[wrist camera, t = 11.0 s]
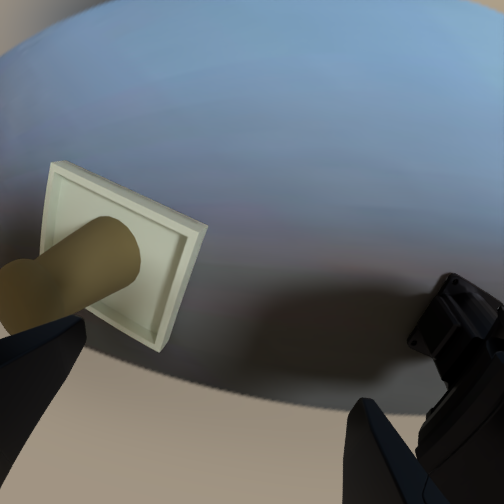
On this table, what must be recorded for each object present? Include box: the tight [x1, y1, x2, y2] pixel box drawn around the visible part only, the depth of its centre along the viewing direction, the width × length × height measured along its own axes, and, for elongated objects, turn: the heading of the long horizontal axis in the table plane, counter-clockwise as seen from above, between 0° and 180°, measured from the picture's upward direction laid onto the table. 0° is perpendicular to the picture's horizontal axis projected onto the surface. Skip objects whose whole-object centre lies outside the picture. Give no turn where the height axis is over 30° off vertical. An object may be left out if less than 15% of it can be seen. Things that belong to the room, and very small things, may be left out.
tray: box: [40, 160, 208, 353], centre depth 23 cm, size 14×11×2 cm
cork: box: [0, 216, 141, 335], centre depth 18 cm, size 6×6×11 cm
